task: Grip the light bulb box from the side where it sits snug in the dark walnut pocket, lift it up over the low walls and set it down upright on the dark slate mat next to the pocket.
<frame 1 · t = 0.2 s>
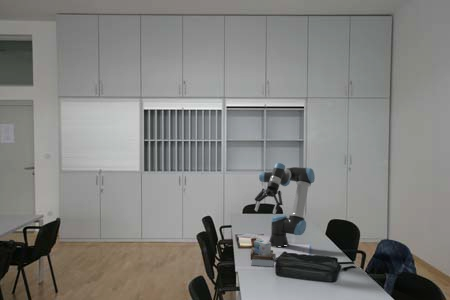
hand: (264, 212, 228), 34 cm above the table, tool tilted 35°, fingers open, 13 cm apart
pocket: (262, 256, 245), on the table
light bulb box: (262, 256, 245), resting in pocket
slate mat: (262, 263, 230), on the table
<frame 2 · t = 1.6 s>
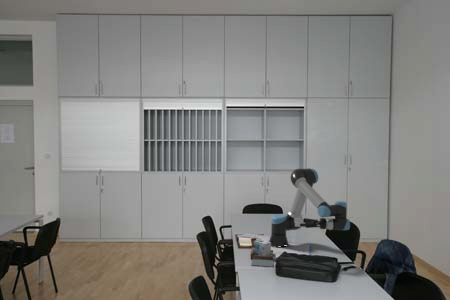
hand: (294, 222, 241), 25 cm above the table, tool horizontal, fingers open, 13 cm apart
nothing on the table moved.
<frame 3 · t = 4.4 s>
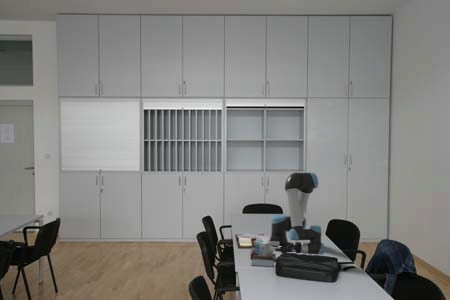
hand: (270, 246, 243), 8 cm above the table, tool horizontal, fingers open, 13 cm apart
nothing on the table moved.
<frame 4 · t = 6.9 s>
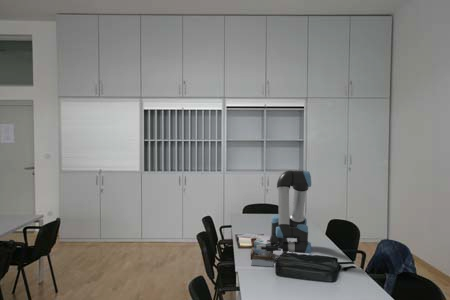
hand: (256, 244, 245), 8 cm above the table, tool horizontal, fingers closed on light bulb box, 11 cm apart
light bulb box: (262, 256, 245), resting in pocket, touching gripper
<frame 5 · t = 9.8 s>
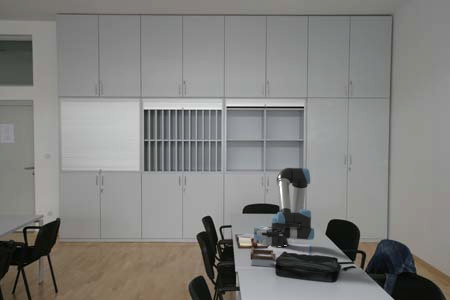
hand: (257, 231, 233), 21 cm above the table, tool horizontal, fingers closed on light bulb box, 11 cm apart
light bulb box: (262, 243, 233), point 12 cm above the table, touching gripper
when the fingers open (9 cm above the table, at t = 13.1 s): light bulb box stays where it is, resting on slate mat.
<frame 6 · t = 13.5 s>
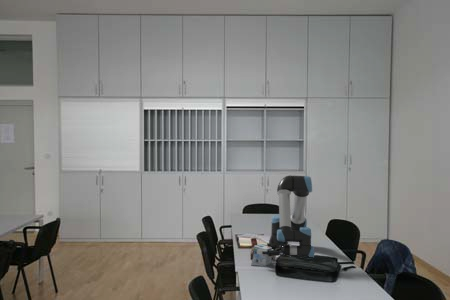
hand: (257, 248, 230), 9 cm above the table, tool horizontal, fingers open, 13 cm apart
light bulb box: (262, 262, 230), resting on slate mat
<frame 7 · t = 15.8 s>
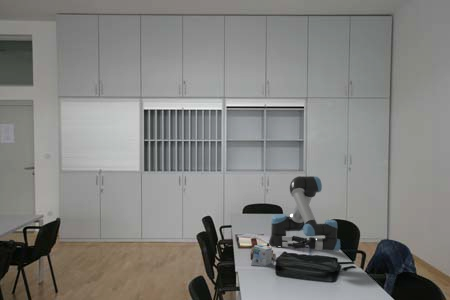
hand: (282, 241, 229), 15 cm above the table, tool horizontal, fingers open, 13 cm apart
nothing on the table moved.
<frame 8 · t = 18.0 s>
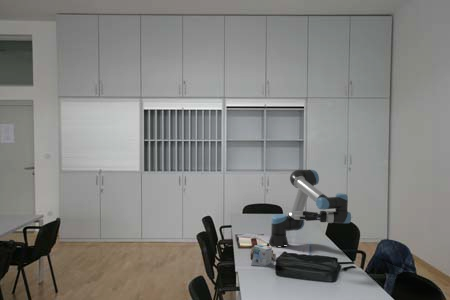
hand: (293, 215, 233), 32 cm above the table, tool horizontal, fingers open, 13 cm apart
nothing on the table moved.
at the end: light bulb box inside the target area on the slate mat (0.0 cm from its centre), point 0.4 cm above the slate mat's base; light bulb box tilted 0°; the gripper is holding nothing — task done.
